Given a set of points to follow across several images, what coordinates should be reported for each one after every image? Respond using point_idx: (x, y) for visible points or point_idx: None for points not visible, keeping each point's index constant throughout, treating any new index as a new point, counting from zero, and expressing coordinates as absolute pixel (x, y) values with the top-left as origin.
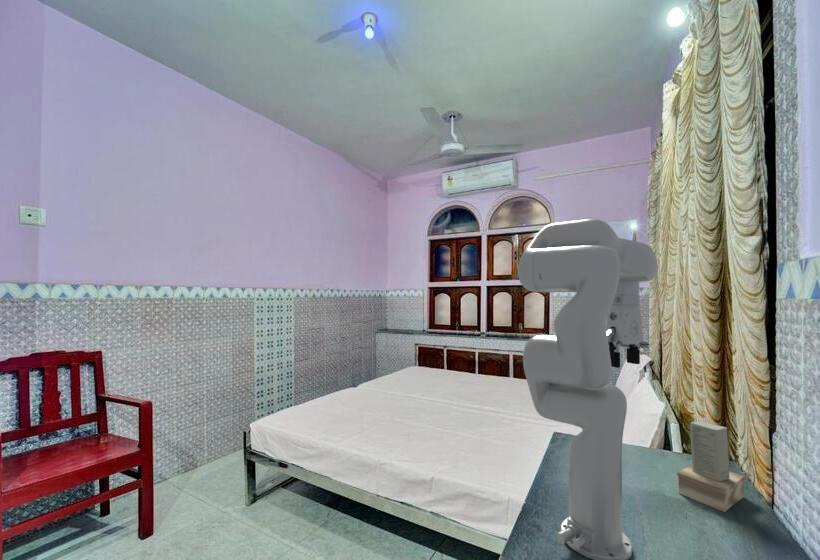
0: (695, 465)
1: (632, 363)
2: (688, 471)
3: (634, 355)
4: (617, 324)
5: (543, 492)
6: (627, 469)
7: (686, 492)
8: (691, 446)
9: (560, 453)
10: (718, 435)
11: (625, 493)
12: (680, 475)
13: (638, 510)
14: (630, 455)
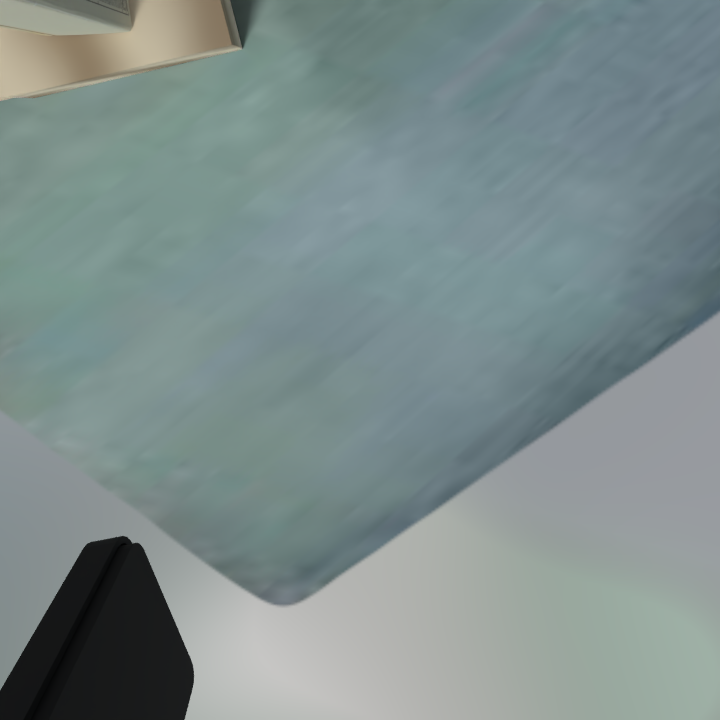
0: (118, 5)
1: (161, 606)
2: (159, 32)
3: (105, 705)
4: None
5: None
6: (275, 283)
7: (231, 13)
8: (85, 13)
9: (433, 474)
10: None
11: (469, 131)
12: (229, 29)
13: (542, 9)
14: (144, 375)
